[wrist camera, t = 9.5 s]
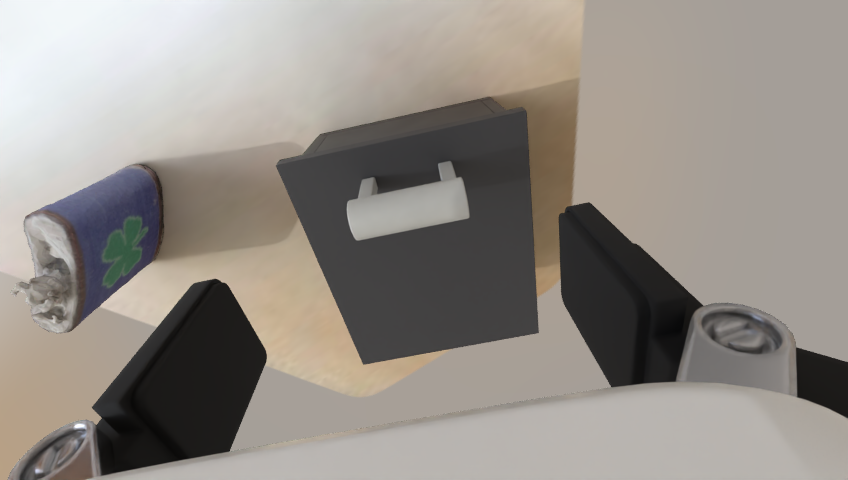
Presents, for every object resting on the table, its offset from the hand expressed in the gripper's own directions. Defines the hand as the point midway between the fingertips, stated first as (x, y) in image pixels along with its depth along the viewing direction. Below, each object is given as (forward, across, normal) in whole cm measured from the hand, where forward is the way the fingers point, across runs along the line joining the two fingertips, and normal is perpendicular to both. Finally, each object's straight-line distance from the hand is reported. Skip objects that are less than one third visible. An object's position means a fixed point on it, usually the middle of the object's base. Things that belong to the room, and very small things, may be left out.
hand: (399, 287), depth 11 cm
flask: (+20, +22, +2) cm, 30 cm away
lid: (+11, 0, +6) cm, 13 cm away
